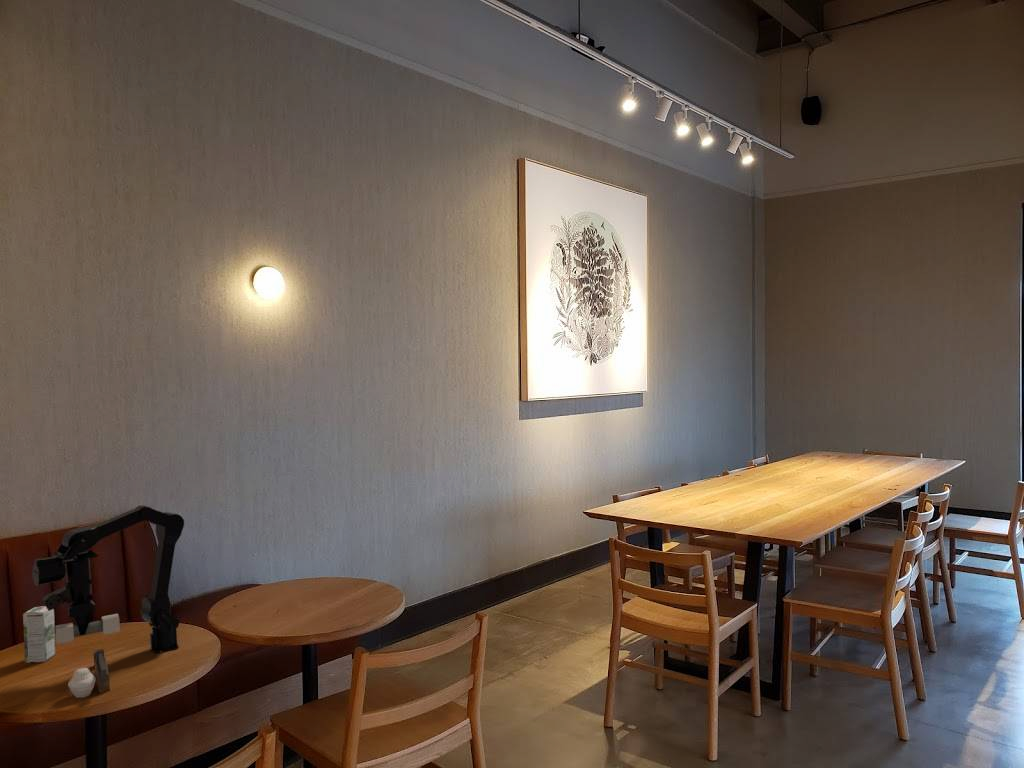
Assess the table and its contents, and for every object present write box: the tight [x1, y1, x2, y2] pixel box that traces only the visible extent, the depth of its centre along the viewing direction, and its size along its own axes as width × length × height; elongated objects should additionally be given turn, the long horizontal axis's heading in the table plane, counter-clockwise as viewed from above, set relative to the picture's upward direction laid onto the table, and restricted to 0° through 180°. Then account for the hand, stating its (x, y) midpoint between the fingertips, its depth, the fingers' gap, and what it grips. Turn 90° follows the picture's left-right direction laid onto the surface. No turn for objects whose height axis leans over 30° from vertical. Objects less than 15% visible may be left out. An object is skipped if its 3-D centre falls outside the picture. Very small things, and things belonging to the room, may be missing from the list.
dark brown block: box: [92, 648, 111, 694], centre depth 201 cm, size 2×22×4 cm, turn 32°
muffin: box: [67, 667, 97, 699], centre depth 190 cm, size 6×6×7 cm
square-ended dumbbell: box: [55, 613, 121, 645], centre depth 206 cm, size 15×4×4 cm, turn 123°
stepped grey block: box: [95, 648, 107, 678], centre depth 197 cm, size 2×16×2 cm, turn 32°
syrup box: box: [22, 605, 57, 664], centre depth 217 cm, size 6×6×14 cm
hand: (82, 633), depth 205 cm, fingers closed on square-ended dumbbell, 3 cm apart
